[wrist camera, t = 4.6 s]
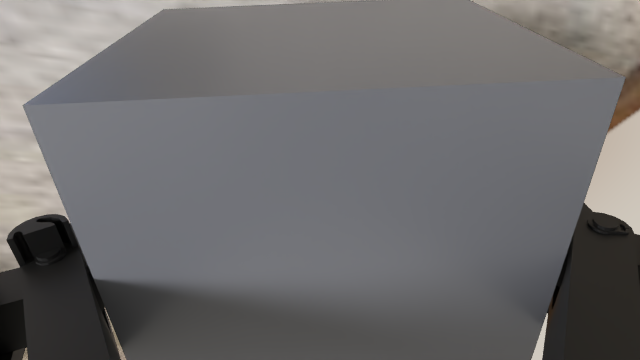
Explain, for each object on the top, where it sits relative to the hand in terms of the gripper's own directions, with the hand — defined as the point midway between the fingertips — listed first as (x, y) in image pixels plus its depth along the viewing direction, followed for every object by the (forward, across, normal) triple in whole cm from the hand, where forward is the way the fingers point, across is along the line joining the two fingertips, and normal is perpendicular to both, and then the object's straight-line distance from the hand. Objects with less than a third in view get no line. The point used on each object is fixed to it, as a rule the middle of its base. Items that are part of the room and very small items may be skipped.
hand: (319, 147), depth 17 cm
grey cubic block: (+1, 0, 0) cm, 1 cm away
